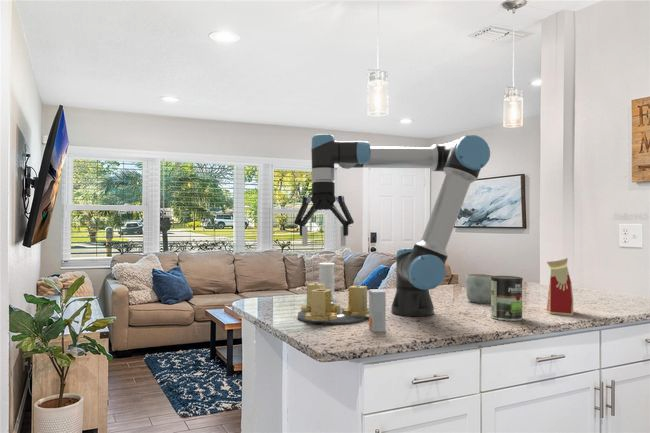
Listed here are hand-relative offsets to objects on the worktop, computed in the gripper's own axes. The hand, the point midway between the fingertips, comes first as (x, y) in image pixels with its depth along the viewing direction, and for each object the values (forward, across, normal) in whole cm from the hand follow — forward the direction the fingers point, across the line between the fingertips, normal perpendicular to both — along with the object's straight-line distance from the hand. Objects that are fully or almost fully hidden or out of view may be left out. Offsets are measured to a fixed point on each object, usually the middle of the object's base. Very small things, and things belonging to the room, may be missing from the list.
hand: (323, 246), depth 171 cm
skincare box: (+25, -20, +6) cm, 33 cm away
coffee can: (+26, -56, -29) cm, 68 cm away
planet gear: (+23, 0, +3) cm, 23 cm away
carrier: (+25, 0, -6) cm, 26 cm away
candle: (+25, +17, -45) cm, 54 cm away
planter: (+26, -45, -62) cm, 81 cm away
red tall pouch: (+26, -73, -48) cm, 91 cm away
